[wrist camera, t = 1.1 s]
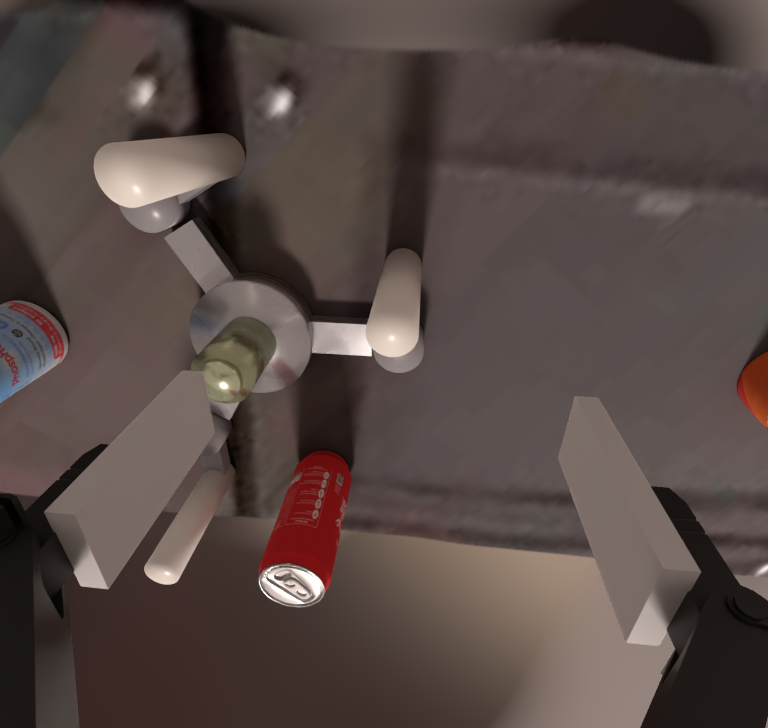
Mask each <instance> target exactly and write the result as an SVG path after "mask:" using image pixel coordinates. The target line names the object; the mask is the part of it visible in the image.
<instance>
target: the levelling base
mask: <svg viewBox="0 0 768 728" xmlns="http://www.w3.org/2000/svg"><path fill="white" fill-rule="evenodd" d="M164 239H165V240H166V241H167V243H168V244H169V245H170V246H171V248H172V249H173V250H174V252H175V253H176V254H177V256H178V257H179V258H180V260H181V261H182V262H183V264H184V265H185V266H186V268H187V269H188V270H189V272H190V273H191V274H192V276H193V277H194V278H195V280H196V281H197V282H198V284H199V285H200V286H201V288H202V289H203V290H204V291H205V293H206V294H204V295H203V296H202V297H201V298H200V300H199V301H198V302H197V304H196V305H195V307H194V309H193V312H192V315H191V319H190V335H191V340H192V344H193V347H194V349H195V351H196V353H197V356H196V357H195V358H194V360H193V362H192V364H191V369H190V371H200V372H203V376H204V381H205V385H206V390H207V395H208V400H209V405H210V409H211V411H212V412H214V413H216V414H218V415H220V416H222V417H224V418H226V419H228V420H230V419H231V417H232V416H233V414H234V413H235V411H236V409H237V407H238V405H239V404H240V402H241V401H242V400H244V399H245V398H246V397H247V396H248V395H249V393H250V392H256V393H266V392H273V391H278V390H280V389H283V388H285V387H287V386H289V385H291V384H292V383H293V382H295V381H296V380H297V379H298V378H299V377H300V376H301V374H302V373H303V372H304V370H305V368H306V366H307V364H308V362H309V360H310V358H311V356H312V353H326V354H343V355H360V356H372V352H373V349H372V348H371V346H370V345H369V343H368V341H367V339H366V326H367V322H368V319H369V318H355V317H336V316H317V315H313V313H312V310H311V309H310V307H309V305H308V303H307V302H306V301H305V299H304V298H303V297H302V296H301V295H300V294H299V293H298V291H296V290H295V289H294V288H293V287H292V286H290V285H289V284H287V283H286V282H284V281H282V280H280V279H278V278H276V277H274V276H271V275H268V274H263V273H257V272H244V273H240V272H239V271H238V270H237V268H236V267H235V265H234V264H233V263H232V261H231V260H230V258H229V257H228V255H227V254H226V253H225V251H224V250H223V248H222V247H221V246H220V244H219V243H218V241H217V240H216V238H215V237H214V236H213V234H212V233H211V231H210V230H209V229H208V227H207V226H206V224H205V223H204V221H203V220H202V219H201V217H200V216H199V217H197V218H195V219H193V220H191V221H189V222H188V223H186V224H185V225H183V226H182V227H180V228H179V229H177V230H175V231H174V232H172V233H171V234H169V235H168V236H166V237H165V238H164Z"/></svg>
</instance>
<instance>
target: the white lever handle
mask: <svg viewBox="0 0 768 728" xmlns="http://www.w3.org/2000/svg"><path fill="white" fill-rule="evenodd" d="M211 414H212V419H213V424H214V429H215V434H214V435H213V437H212V438H211V440H210V441H209V442H208V444H207V445H206V447H205V448H204V450H203V451H202V453H201V454H200V460H201V465H202V469H203V474H202V476H201V477H200V479H199V481H198V482H197V484H196V485H195V487H194V488H193V490H192V492H191V493H190V495H189V496H188V498H187V500H186V501H185V503H184V504H183V506H182V508H181V509H180V511H179V512H178V514H177V516H176V517H175V519H174V520H173V522H172V524H171V525H170V527H169V528H168V530H167V532H166V533H165V535H164V536H163V538H162V539H161V541H160V543H159V544H158V546H157V547H156V549H155V551H154V553H153V554H152V555H151V557H150V559H149V560H148V562H147V564H146V565H145V567H144V571H145V573H146V575H147V576H148V577H149V578H150V579H152V580H153V581H155V582H158V583H161V584H174V583H176V582H177V581H178V579H179V578H180V576H181V574H182V572H183V570H184V568H185V566H186V564H187V563H188V561H189V559H190V557H191V555H192V553H193V551H194V549H195V548H196V546H197V544H198V542H199V540H200V538H201V537H202V535H203V533H204V531H205V529H206V527H207V525H208V524H209V522H210V520H211V518H212V516H213V514H214V512H215V511H216V509H217V507H218V505H219V503H220V501H221V499H222V498H223V496H224V494H225V492H226V490H227V488H228V486H229V485H230V483H231V481H232V479H233V477H234V475H235V469H234V467H233V466H232V465H231V464H230V459H229V454H228V448H227V443H226V439H227V437H228V435H229V434H230V432H231V430H232V423H231V420H228V419H226V418H224V417H222V416H220V415H218V414H216V413H214V412H212V411H211Z"/></svg>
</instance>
